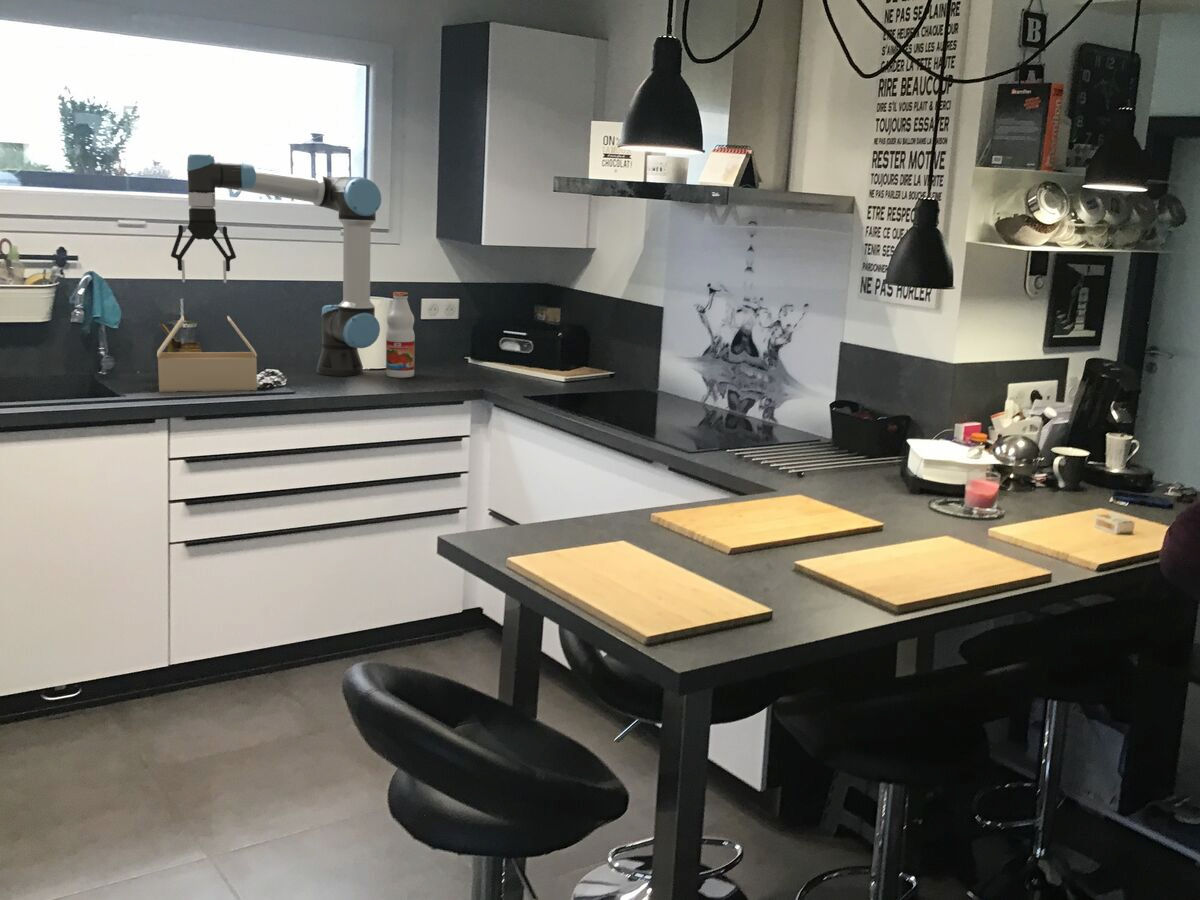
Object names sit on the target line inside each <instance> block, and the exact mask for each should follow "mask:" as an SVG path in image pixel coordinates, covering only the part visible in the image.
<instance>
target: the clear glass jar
mask: <svg viewBox="0 0 1200 900" xmlns="http://www.w3.org/2000/svg"><path fill="white" fill-rule="evenodd" d="M158 324H159V326H160V328H161V330H162V331H163V332H164V333H165V334H166V336H167V337H168V335H169V334H170V332H171V331H170V330H169V328H168V327H167V326H166V325H165V324H164V323H162V322H161V321H159V322H158ZM176 349H177V351H176V353H185V352H203V350H202V349H203V348H201V344H200V342H196V341H195V342H191V341H190V342H184V343H182V341H181V340H177V339H176V338H175V335H174V336H173V338H172V339H171V340H170V342H169V343H168V345H167V353H175V350H176Z"/></svg>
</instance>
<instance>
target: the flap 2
mask: <svg viewBox="0 0 1200 900" xmlns="http://www.w3.org/2000/svg"><path fill="white" fill-rule="evenodd" d="M226 316H227V317H226V318H227V320H228V322H229V323H230V325H231V326H232V327H233V329H234V330H235V331H236V333H237V334H238V335H239V338H241V339H242V341H243V342H244V343H245V345H246V346H247V347H248V349H249V350H250V352H253V354H254V355H255V356H256V357H258V354H257V352H256V350H255V349H254V347H253V346H252V345H251V344H250V342H249V340H247V338H246V336H244V334H243V333H242V332H241V330H240V329H239V328H238V326H237V324H235V322H234V321H233V319H232V318H231V317H230V316H229V315H226Z"/></svg>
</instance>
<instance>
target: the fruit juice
mask: <svg viewBox="0 0 1200 900" xmlns="http://www.w3.org/2000/svg"><path fill="white" fill-rule="evenodd" d="M392 296H393V301H392V304H391V307H390V310H389V311H388V314H387V316H386V323H387V331H386V335H385V339H386V341H385V345H386V346H385V347H386V349H385V351H386V353H385V355H386V356H385V357H386V358H385V371H386V376H387V377H391V378H400V379H401V378H403V379H404V378H412V377H414V376H415V357H416V356H415V354H416V353H415V351H416V350H415V339H416V338H415V337H416V335H415V331H414V325H415V316H414V314H413V312H412V310H411V307H410V305H409V304H410V303H409V302H408V298H409V293H408V292H404V291H394V292H392Z"/></svg>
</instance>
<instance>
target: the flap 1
mask: <svg viewBox="0 0 1200 900" xmlns="http://www.w3.org/2000/svg"><path fill="white" fill-rule="evenodd" d="M184 322H185V316H184V315H182V316H181V317H180V318H179V319H178V321H177V322H176V324H175V325H174V327H173V328H172V330H171V331H170V334H169V335H168V336H167V337H165V339H164V341H163V342H162V344H161V345H160V347H159V348H158V349H157V352H156V353H157V354H156V358H158V357H159V356H160V355H161V353H164V350H165V349H166V347H168V345H169V343H170V341H171V339H172V338H173V336H174V337H175V335H176V333H177V332H178V331H179V330H180V328H181V327H182V325H183V324H184Z"/></svg>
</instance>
